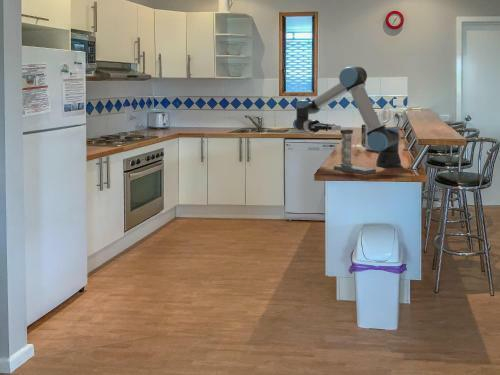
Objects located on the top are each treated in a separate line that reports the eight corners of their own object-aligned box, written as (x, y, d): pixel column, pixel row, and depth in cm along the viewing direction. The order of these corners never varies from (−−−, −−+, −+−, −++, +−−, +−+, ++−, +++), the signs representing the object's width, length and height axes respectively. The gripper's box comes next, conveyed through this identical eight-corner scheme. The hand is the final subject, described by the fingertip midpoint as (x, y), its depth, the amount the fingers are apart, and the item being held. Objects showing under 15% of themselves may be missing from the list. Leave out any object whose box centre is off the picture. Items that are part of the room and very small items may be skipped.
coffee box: (360, 145, 547) (361, 124, 544) (367, 145, 551) (367, 124, 548) (369, 146, 540) (369, 125, 537) (375, 146, 543) (375, 125, 540)
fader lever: (340, 165, 425) (340, 129, 422) (346, 164, 428) (346, 129, 425) (346, 166, 421) (346, 130, 418) (352, 165, 424) (352, 130, 421)
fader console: (333, 169, 427) (333, 165, 427) (344, 167, 433) (344, 164, 432) (364, 174, 407) (364, 170, 406) (375, 172, 412) (376, 168, 411)
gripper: (322, 131, 451) (347, 133, 432) (302, 132, 442) (327, 135, 423) (322, 119, 450) (348, 121, 431) (302, 120, 441) (328, 122, 422)
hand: (337, 128), depth 427 cm, fingers open, 3 cm apart
